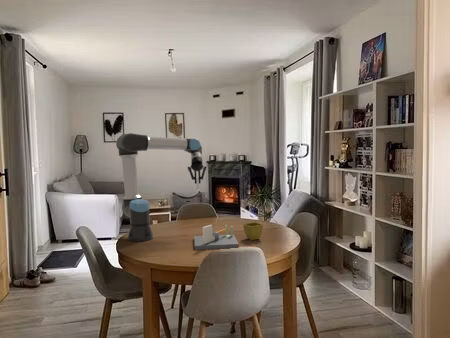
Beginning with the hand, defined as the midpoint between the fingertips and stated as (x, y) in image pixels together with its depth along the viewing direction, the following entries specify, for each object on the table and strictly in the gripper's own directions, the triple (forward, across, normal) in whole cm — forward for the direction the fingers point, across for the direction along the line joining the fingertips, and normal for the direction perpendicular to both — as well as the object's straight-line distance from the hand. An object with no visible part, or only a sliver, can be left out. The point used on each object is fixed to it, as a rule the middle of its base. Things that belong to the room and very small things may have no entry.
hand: (197, 186), depth 230 cm
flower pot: (+36, -32, -7) cm, 48 cm away
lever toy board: (+40, -9, -2) cm, 41 cm away
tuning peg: (+39, -9, 0) cm, 40 cm away
